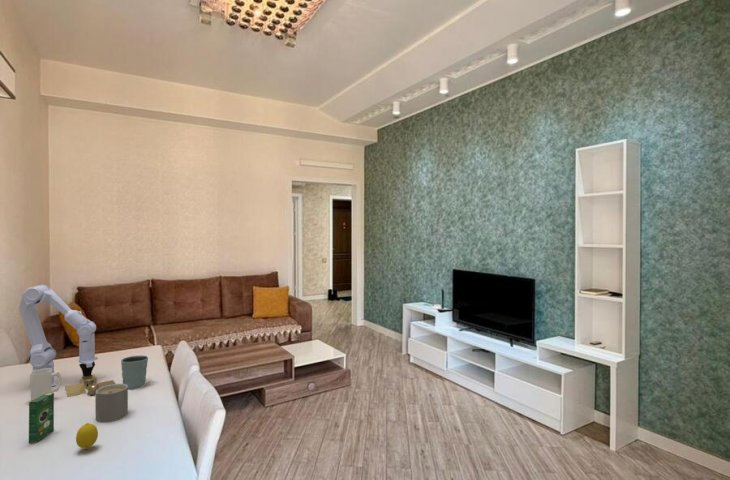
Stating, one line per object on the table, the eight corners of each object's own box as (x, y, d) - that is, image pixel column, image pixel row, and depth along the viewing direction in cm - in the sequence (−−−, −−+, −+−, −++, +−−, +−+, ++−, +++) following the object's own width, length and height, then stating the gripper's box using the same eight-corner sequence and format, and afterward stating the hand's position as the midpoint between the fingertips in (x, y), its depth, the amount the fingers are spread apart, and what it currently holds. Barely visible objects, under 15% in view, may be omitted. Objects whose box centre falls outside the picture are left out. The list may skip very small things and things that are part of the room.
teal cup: (115, 388, 170) (115, 360, 170) (137, 380, 180) (137, 354, 180) (132, 391, 167) (132, 363, 167) (153, 383, 176) (153, 356, 176)
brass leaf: (64, 388, 170) (64, 380, 170) (94, 382, 177) (94, 374, 177) (67, 397, 161) (67, 388, 161) (98, 390, 168) (98, 381, 168)
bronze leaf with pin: (84, 388, 170) (84, 379, 170) (113, 382, 177) (113, 374, 177) (88, 396, 161) (88, 387, 161) (118, 389, 168) (118, 381, 168)
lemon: (83, 444, 124) (83, 419, 124) (101, 444, 124) (101, 418, 124) (71, 454, 118) (71, 427, 118) (91, 453, 119) (91, 427, 119)
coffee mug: (130, 416, 143) (130, 389, 143) (97, 425, 137) (97, 396, 137) (123, 404, 154) (123, 379, 153) (92, 412, 147) (92, 385, 147)
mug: (28, 406, 152) (28, 375, 152) (31, 400, 157) (31, 370, 157) (61, 400, 158) (61, 370, 157) (62, 394, 163) (62, 365, 163)
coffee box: (45, 430, 133) (45, 392, 133) (54, 430, 133) (54, 391, 133) (27, 443, 125) (27, 402, 125) (37, 442, 125) (37, 401, 125)
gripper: (100, 351, 175) (100, 381, 175) (95, 344, 186) (95, 373, 186) (80, 354, 170) (81, 385, 170) (76, 347, 181) (76, 376, 181)
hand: (87, 379), depth 178 cm, fingers closed
